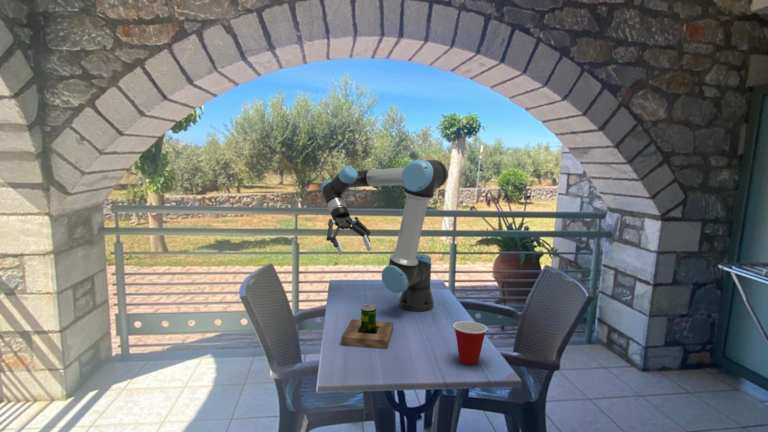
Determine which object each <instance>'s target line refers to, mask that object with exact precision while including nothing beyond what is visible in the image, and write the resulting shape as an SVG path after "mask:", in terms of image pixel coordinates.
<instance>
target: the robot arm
mask: <svg viewBox="0 0 768 432" xmlns="http://www.w3.org/2000/svg"><path fill="white" fill-rule="evenodd" d="M448 174H449V173H448V169H447V166H446V165H445V164H444V163H443V162H442V161H439V160H436V159H415V160H412V161H409V162H408V163H407V164H405V166H404V167H391V168H379V169H377V168H376V169H362V170H361V169H359V170H356V169H355V168H354V167H353V166H351V165H345V166H343V168H341V169H340V170H339V172H338V173H337V174H336V175H335V177H334V178H333V179H327V180H325V181H323V182H322V183H321V184H320V190H321V195H322V197H323V198H324V201H325V203H326V206H327V209H328V210H329V212H330V215H331V218H329V220H328V222H327V226H328V229H327V234H326V235H327V236H326V241H327V242H330V243H332V245H333V247H334V248H336V250H337V252H338V253H337V254H338V255H339V256H341V255H342V254H343V252H344V250H343V248H342V245H341V243H340V240H339V238H338V237H337V236H338V234H339V231H340V229H341V230H342V231H344V230H350V231H353V232H355V233H356V234H358V235H359V236H361V237H362V241H363V243H364V246H365V248H366V250H367V252H369V251H370V250H371V249H372V244H371V243H370V242H371V239H370V238H369V236H370V235H371V230H369V228H367V227H366V225H364V224H363V223H362V222H361V221H360V220H359V218H358V216H355V217H354V218H352V217H351V215H350V212H349V210H348V207H347V205H346V202H345V200H344V199H343V195H344V194H345V192H346V191H348V189H350V188H351V189H352V188H362V187H363V188H367V187H383V186H384V187H386V186H387V187H388V186H390V187H391V186H404V189H403V193H404V195H405V196H406V198H405V203H404V208H403V213H402V218H401V222H400V227H399V232H398V237H397V241H396V245H395V249H394V253H392V254H390V257H389V260H388V261H389V262H388V265H386V266H385V267H384V268H383V269H382V272H381V280H382V283H383V284H384V288H385V287H386V289H387V290H388V291H390V292H391V293H395V294H400V293H401V294H400V297H399V303H398V304H399V307H400V308H401V309H403V310H407V311H411V312H427V311H429V310H432V309H433V308H434V306H435V305H434V304H435V302H434V301H435V300H434V297H433V294H432V291H431V278H432V277H431V275H432V259H431V256H430V255H427V254H422V253H418V248H419V244H420V241H421V236H422V231H423V225H424V221H425V217H426V213H427V209H428V204H429V201H430V200H432V199H433V198H434V194H435V190H437V189H439V188H441V187H442V186H444V185H445V183H446V182H447V180H448V177H449V176H448ZM334 225H335V226H336V229H335V231H334V233H333V226H334ZM332 234H333V235H332Z"/></svg>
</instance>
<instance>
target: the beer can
mask: <svg viewBox="0 0 768 432" xmlns="http://www.w3.org/2000/svg"><path fill="white" fill-rule="evenodd" d="M360 320H361V333H370V334H376V321H377V306H376V304H375V303H373V302H365V303H362V304H361V307H360Z"/></svg>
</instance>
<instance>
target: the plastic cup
mask: <svg viewBox="0 0 768 432" xmlns="http://www.w3.org/2000/svg"><path fill="white" fill-rule="evenodd" d="M453 329H454V330H455V331H454V332H455V337H456V346H457V352H458V358H459V359H458V360H459V362H460V363H462V364H463V365H466V366H475V365H477V364H478V363H479V360H480V355H481V353H482V347H483V342H484V339H485V336H486V333H487V331H488V326H487V325H485V324H483V323H481V322H475V321H467V320H466V321H463V320H462V321H456V322H454V323H453Z"/></svg>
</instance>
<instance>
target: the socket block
mask: <svg viewBox="0 0 768 432" xmlns="http://www.w3.org/2000/svg"><path fill="white" fill-rule="evenodd" d="M393 332H394V322H393V321H380V320H379V321H378V320H376V334H370V333H361V319H350V321H349V323H348V325H347V327H346V328H345V330H344V332H343V333H342V335H341V340H340V342H341V346H346V347H348V346H349V347H359V348H360V347H361V348H370V349H371V348H374V349H386V350H388V347H389V344H390V341H391V338H392V335H393Z"/></svg>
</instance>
